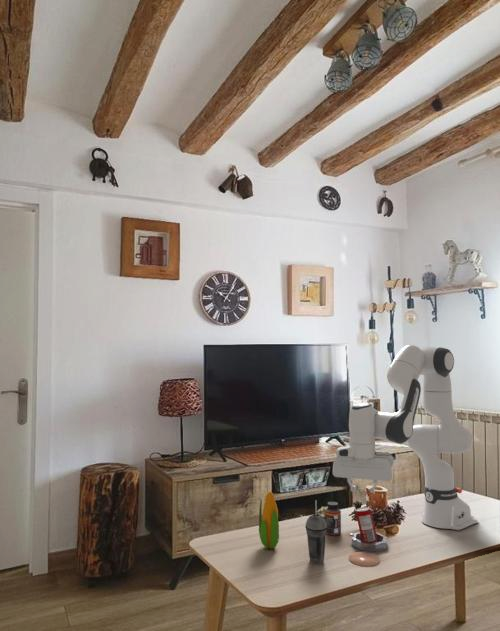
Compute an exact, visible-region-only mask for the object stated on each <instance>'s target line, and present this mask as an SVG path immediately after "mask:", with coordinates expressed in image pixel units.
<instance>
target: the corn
mask: <svg viewBox="0 0 500 631" xmlns="http://www.w3.org/2000/svg"><path fill="white" fill-rule="evenodd" d="M262 504H263V503H262V499H260V503H259V515H258V533H259V539H260V542H261V544H262V545H263V547H265V549H268V550H273V549H275V548H276V547H277V545H278V543H279V539H280V529H279V528H280V526H279V509H278V506H277V503H276V498H275V495H274V494H273V492H272V491H268V492H267V494H266V495H265V500H264V504H263V509H262ZM262 510H263V511H262Z"/></svg>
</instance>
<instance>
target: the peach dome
mask: <svg viewBox="0 0 500 631" xmlns="http://www.w3.org/2000/svg"><path fill="white" fill-rule="evenodd" d="M348 561H349V562H351V563H352V564H354V565H357V566H361V567H374V566H377V565H378V564H380V557H379V556H378V555H376V554H374V553H373V552H372V553H371V552H369V551H357V552H352V553H350V554H349V556H348Z"/></svg>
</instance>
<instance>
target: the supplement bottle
mask: <svg viewBox="0 0 500 631" xmlns="http://www.w3.org/2000/svg"><path fill="white" fill-rule="evenodd" d="M327 506H328V508H326V510H325V521H326V524H327V532H326V535H329V536H339V535H340V534H342V516H341V515H342V514H341V513H342V511H341V509H340V508H339V503H338V502H336V501H328V502H327Z"/></svg>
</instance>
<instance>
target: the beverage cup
mask: <svg viewBox="0 0 500 631" xmlns="http://www.w3.org/2000/svg"><path fill="white" fill-rule="evenodd" d="M317 504H318V501H317V499H316V500H315V502H314V505H315V508H314V509H315V510H314V513H312V514H311V515H310V516H308V518H307V519H306V521H305V531H306V534H307V535H306V537H307V547H308V557H309V563H310V564H312V565H316V566H317V565H323V564H324V560H325V553H326V552H325V551H326V539H327V538H326V535H327V533H326V532H327V524H326V521H325V519H324V518H323V517H322V516H321V515H319V514H317V511H318V505H317Z"/></svg>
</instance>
